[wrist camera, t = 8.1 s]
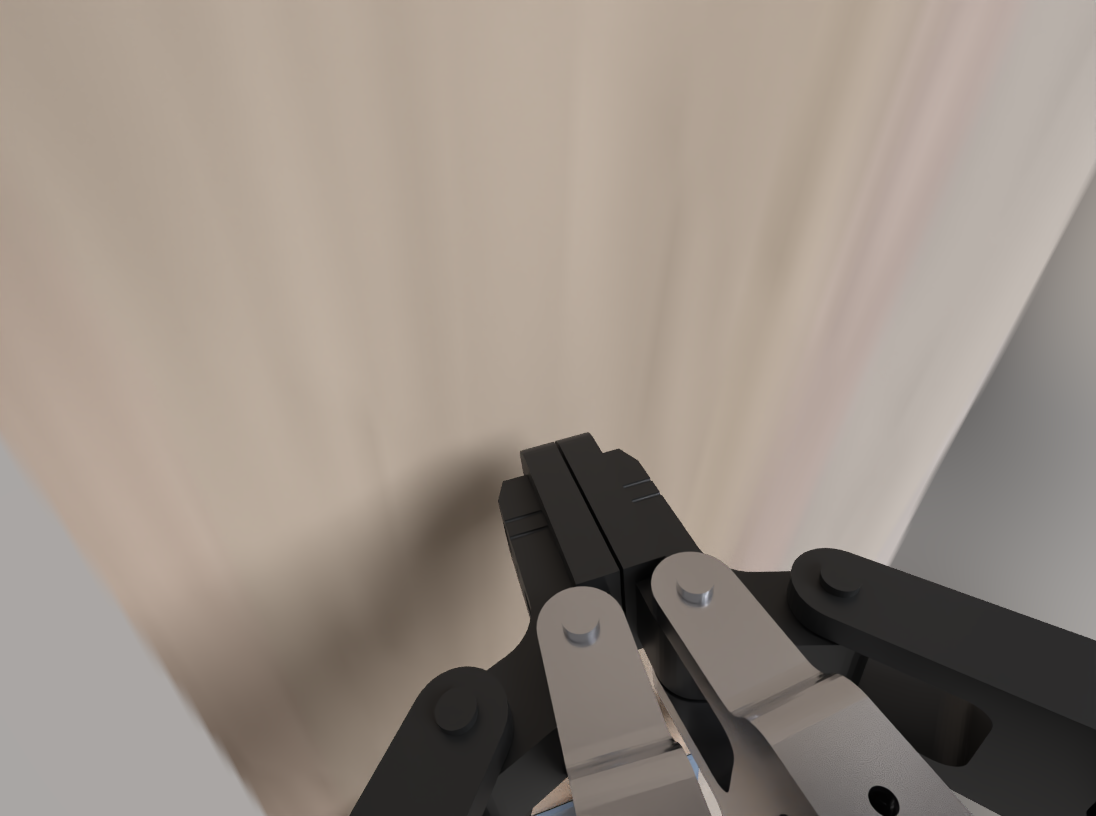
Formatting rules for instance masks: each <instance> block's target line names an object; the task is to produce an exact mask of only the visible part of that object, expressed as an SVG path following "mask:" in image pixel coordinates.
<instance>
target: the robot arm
mask: <svg viewBox="0 0 1096 816" xmlns="http://www.w3.org/2000/svg"><path fill="white" fill-rule="evenodd" d="M520 457H521V463H522V468H523V473H524V476H521V477H517V478H513V479H510V480H506V481H503V483H502V487H501V492H500V496H499V500H498V502H499V507H500V511H501V515H502V520H503V524H504V528H505V533H506V537H507V541H508V545H509V550H510V553H511V557H512V560H513V563H514V567H515V570H516V573H517V577H518V580H519V583H520V586H521V589H522V593H523V596H524V600H525V603H526V606H527V610H528V613H529V616H530V623H529V627H528V630H527V632H526V634H525V636H524V638H523V639H522V641H521V642H520V643H519V645H518V646H517V647H516V648H515V649H514V650H513V651H512V652H511V653H510V654H508V655H507V656H506V657H505V658H503V659H502V660H500V661H499V662H498V663H496V664H495V665H494V666H492V667H491V668H489V669H488V670H487V671H486V670H483V669H481V668H477V667H458V668H454V669H451V670H448V671H446V672H444V673H442V674H440V675H439V676H437V677H436V678H434V679H433V680H432V681H431V682H430V683H428V684H427V685H426V687H425V688H424V689H423V690H422V691H421V693H420V694H419V696H418V697H417V699H416V700H415V702H414V704H413V706H412V707H411V709H410V711H409V713H408V714H407V716H406V718H405V720H404V721H403V723H402V725H401V727H400V728H399V730H398V732H397V734H396V735H395V737H394V739H393V741H392V742H391V744H390V746H389V748H388V749H387V751H386V753H385V755H384V756H383V758H382V760H381V762H380V763H379V765H378V767H377V768H376V770H375V772H374V774H373V775H372V777H371V779H370V781H369V782H368V784H367V786H366V788H365V789H364V791H363V793H362V795H361V796H360V798H359V800H358V802H357V803H356V805H355V807H354V809H353V810H352V812H351V814H350V816H531V813H532V809H533V807H534V806H536V805H537V804H538V803H539V802H540V801H541V800H542V799H543V798H544V797H546V796H547V795H548V794H549V793H550V792H551V791H552V790H553V789H554V788H556V787H557V786H558V785H559V784H560V783H561V782H562V781H563V780H564V779H566V778H567V777H568V779H569V784H570V788H571V793H572V798H573V802H574V807H575V811H576V816H711V814H710V811H709V808H708V806H707V803H706V801H705V798H704V796H703V793H702V791H701V788H700V786H699V783H698V780H697V778H696V775H695V773H694V771H693V768H692V766H691V764H690V761H689V759H688V757H687V755H686V753H685V751H684V750H683V748H682V746H681V745H680V744H679V743H678V742H676V741H674V739H673V738H672V736H671V734H670V732H669V730H668V728H667V725H666V723H665V720H664V717H663V715H662V712H661V709H660V707H659V704H658V701H657V699H656V696H655V694H654V691H653V688H652V686H651V683H650V680H649V678H648V675H647V673H646V670H645V667H644V665H643V662H642V659H641V657H640V654H639V651H638V649H641V648H644V650H645V652H646V654H647V656H648V658H649V661H650V663H651V665H652V670H653V683H654V687H655V689H656V691H657V693H658V695H659V697H660V699H661V701H662V702H663V704H664V706H665V708H666V710H667V711H668V713H669V715H670V717H671V719H672V720H673V722H674V724H675V726H676V728H677V729H678V731H679V733H680V735H681V737H682V738H683V740H684V742H685V744H686V746H687V747H688V749H689V751H690V753H691V755H692V756H693V758H694V760H695V762H696V764H697V765H698V767H699V769H700V771H701V773H702V774H703V776H704V778H705V780H706V782H707V783H708V785H709V787H710V789H711V791H712V792H713V794H714V796H715V798H716V800H717V803H718V805H719V808H720V810H721V813H722V816H973V814H972V813H971V812H970V811H969V810H968V809H967V808H966V807H965V806H964V804H963V803H962V802H961V801H960V800H959V799H958V798H957V796H956V795H955V794H954V793H953V792H952V791H951V790H953V791H955V792H957V793H959V794H961V795H963V796H965V797H966V798H968V799H970V800H972V801H974V802H976V803H978V804H980V805H982V806H984V807H986V808H988V809H989V810H991V811H993V812H995V813H997V814H999V815H1001V816H1096V641H1095V640H1093V639H1090V638H1087V637H1084V636H1082V635H1078V634H1076V633H1073V632H1070V631H1067V630H1065V629H1062V628H1059V627H1056V626H1053V625H1051V624H1048V623H1045V622H1042V621H1040V620H1037V619H1034V618H1031V617H1028V616H1026V615H1023V614H1020V613H1017V612H1014V611H1012V610H1009V609H1006V608H1003V607H1000V606H998V605H995V604H992V603H989V602H986V601H984V600H981V599H978V598H975V597H972V596H970V595H967V594H964V593H961V592H958V591H956V590H953V589H950V588H947V587H944V586H942V585H939V584H936V583H933V582H930V581H927V580H925V579H922V578H919V577H916V576H914V575H911V574H908V573H905V572H903V571H900V570H897V569H894V568H891V567H889V566H886V565H883V564H880V563H877V562H875V561H872V560H869V559H866V558H863V557H861V556H858V555H855V554H852V553H849V552H846V551H843V550H838V549H832V548H819V549H814V550H810V551H807V552H805V553H803V554H802V555H800V556H799V557H798V558H797V559H796V560H795V562H794V563H793V566H792V569H791V571H781V572H744V571H737V570H733V569H730V568H729V567H728V566H727V565H726V564H724V563H723V562H722V561H720V560H719V559H717V558H715V557H713V556H710V555H708V554H704V553H703V552H702V551H701V550H700V549H699V548H698V546H697V545H696V544H695V542H694V541H693V539H692V538H691V536H690V535H689V533H688V532H687V531H686V529H685V528H684V526H683V525H682V523H681V522H680V520H679V519H678V518H677V516H676V515H675V513H674V512H673V510H672V509H671V507H670V506H669V505H668V503H667V502H666V500H665V499H664V497H663V496H662V495H660V492H659V490H658V489H657V487H656V486H655V484H654V483H653V481H651V480H650V477H649V476H648V474H647V473H646V471H645V470H644V468H643V467H642V466H641V464H640V463H639V461H638V460H636V459H635V458H633V457H631V456H630V455H628V454H627V453H625V452H623V451H622V450H620V449H616V450H612V451H609V452H605V453H602V451H601V450H600V448H599V446H598V445H597V443H596V442H595V440H594V438H593V437H592V435H591V434H590V433H589V432H587V433H583V434H580V435H576V436H572V437H569V438H565V439H561V440H558V441H555V443H554V442H551V443H547V444H544V445H540V446H536V447H533V448H529V449H525V450H522V451H520ZM950 789H951V790H950Z"/></svg>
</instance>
